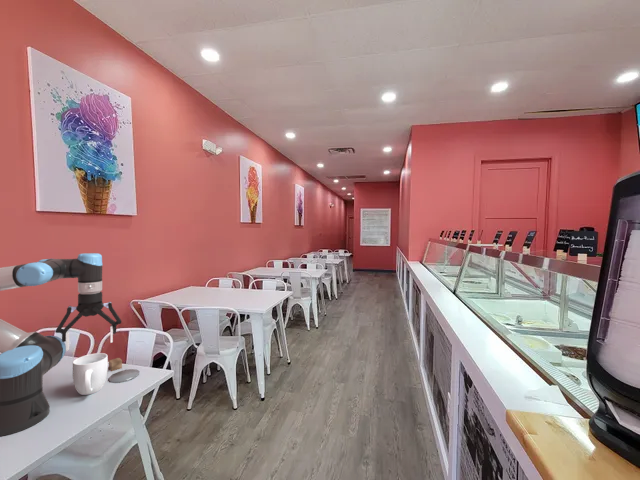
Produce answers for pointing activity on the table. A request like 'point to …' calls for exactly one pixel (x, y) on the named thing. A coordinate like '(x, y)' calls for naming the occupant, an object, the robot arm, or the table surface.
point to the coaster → (124, 376)
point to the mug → (90, 373)
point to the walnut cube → (115, 364)
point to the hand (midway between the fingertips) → (90, 345)
